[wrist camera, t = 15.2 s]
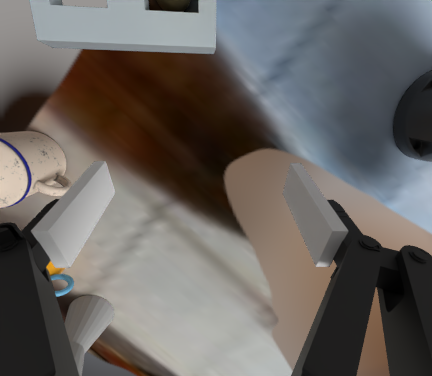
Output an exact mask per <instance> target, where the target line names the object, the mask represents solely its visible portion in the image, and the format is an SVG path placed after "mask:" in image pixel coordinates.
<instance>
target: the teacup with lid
mask: <svg viewBox="0 0 432 376" xmlns="http://www.w3.org/2000/svg"><path fill="white" fill-rule="evenodd" d="M65 171H66V158H65V155H64V153H63V151H62V149H61V148H60V146H59V145H58V144H57V143H56V142H55V141H54V140H52V139H51V138H50V137H48V136H46V135H44V134H42V133H39V132H34V131H21V132H9V133H0V208H4V207H9V206H13V205H15V204H17V203H19V202H20V201H22V200H23V199H24V198H25V197H27V196H30V195H32V194H34V193H36V192H38V191H39V192H41V193H44V194H47V195H52V196H63V195H64V194H65V193H66V192H67V191H68V190H69V189H70V187H71V182H70V181H69V180H68V179H67V178H66V177H64V176H63V175H64V173H65ZM57 182H58V183H60V184H61V185H62V186H63V187H53V186H51V185H53V184H55V183H57Z"/></svg>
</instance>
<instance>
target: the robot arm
mask: <svg viewBox="0 0 432 376" xmlns="http://www.w3.org/2000/svg"><path fill="white" fill-rule="evenodd" d="M393 130H394V137H395V141H396V143H397V145H398V147H399V149H400V150H401V151H402V152H403V153H404V154H405V155H407V156H409V157H411V158H413V159H418V160H423V161H430V162H432V70H431V71H429V72H427V73H426V74H424V75H423V76H421V77H420V78H419V79H417V80H416V81H415V82H414V83H413V84H412V85H411V86H410V88H409V89H408V90H407V91H406V93H405V94H404V96H403V97H402V99H401V101H400V103H399V105H398V108H397V110H396V114H395V118H394V125H393ZM114 194H115V190H114V187H113V184H112V181H111V177H110V174H109V171H108V168H107V164H106V161H94V162H93V163H92V165H91V166H90V167H89V168H88V169H87V170H86V171H85V172H84V173H83V174H82V175H81V177H80V178H79V179H78V180H77V181H76V182H75V183H74V184H73V185H72V186H71V187H70V189H69V190H68V191H67V192H66V193H65V194H64V195H63V196H62V197H61V198H60V199H55V200H54V201H52V202H50V203H49V204H47V205H46V206H45V207H44V208H43V209H42V210H41V212H39V213H38V214H37V215H36V218H34V219H33V220H32V221H31V222H30V223H29V224H28V225H27V226H26V227H25V228H24V229H23V230H22V231H20V230H19V228H18V227H17V225H16V224H15V223H11V222H10V223H2V224H0V376H79V373H78V369H77V366H76V362H75V359H74V356H73V352H72V349H71V345H70V342H69V338H68V335H67V332H66V328H65V325H64V321H63V318H62V315H61V311H60V308H59V304H58V301H57V297H56V294H55V291H54V287H53V284H52V280H51V277H50V274H49V271H48V269H47V268H46V267H47V265H48V264H49V262H50V261H51V262H52V264H53V265H54V267H55V268H70V267H71V266H72V264H73V262H74V261H75V259H76V257H77V256H78V254H79V252H80V251H81V249H82V247H83V246H84V244H85V242H86V241H87V239H88V237H89V236H90V234H91V232H92V231H93V229H94V227H95V226H96V224H97V222H98V221H99V219H100V217H101V216H102V214H103V212H104V211H105V209H106V207H107V206H108V204H109V202H110V201H111V199H112V197H113V196H114ZM283 195H284V197H285V199H286V202H287V204H288V206H289V208H290V211H291V213H292V215H293V217H294V220H295V222H296V224H297V226H298V228H299V230H300V233H301V235H302V237H303V239H304V242H305V244H306V246H307V248H308V250H309V253H310V255H311V257H312V259H313V261H314V264H315V266H316V267H329V266H330V265H331V263H332V261H333V260H334V261H335V263H336V265H337V267H336V269H335V270H334V272H333V274H332V276H331V280H330V283H329V285H328V288H327V290H326V293H325V295H324V297H323V300H322V302H321V305H320V307H319V309H318V312H317V314H316V317H315V319H314V322H313V324H312V326H311V329H310V331H309V334H308V336H307V339H306V341H305V343H304V346H303V348H302V351H301V353H300V356H299V358H298V360H297V363H296V365H295V368H294V370H293V372H292V375H291V376H356V375H357V370H358V365H359V361H360V356H361V352H362V347H363V343H364V338H365V333H366V329H367V324H368V320H369V315H370V311H371V306H372V301H373V297H374V292H375V288H376V287H377V290H378V296H379V303H380V310H381V317H382V324H383V331H384V338H385V345H386V352H387V359H388V366H389V373H390V376H432V256H431V255H430V254H429V253H427V252H426V251H424V250H422V249H420V248H418V247H415V246H410V245H408V246H404V247H402V248H401V250H400V251H396V250H392V249H387V248H383V247H382V246H381V244H380V243H379V242H377V241H376V240H375V239H373V238H371V237H369V236H366V235H363V234H362V233H361V231H360V230H359V229H358V227H357V226H356V225H355V224H354V222H353V221H352V220H351V218H349V216H348V214H347V213H345V210H344V209H343V208H342V207H341V205H340V204H338V203H337V202H335V201H334V200H326V198H325V197H324V195H323V194H322V193H321V191H320V190H319V188H318V187H317V185H316V184H315V183H314V181H313V180H312V178H311V177H310V175H309V174H308V173H307V171H306V170H305V168H304V167H303V165H302V164H301V163H290V167H289V171H288V175H287V179H286V183H285V187H284V191H283Z"/></svg>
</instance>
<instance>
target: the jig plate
mask: <svg viewBox="0 0 432 376" xmlns="http://www.w3.org/2000/svg"><path fill="white" fill-rule="evenodd" d="M29 1H30V6H31V11H32V16H33V21H34V26H35V31H36V36H37V40H38V41H40V42H42V43H44V44H46V45H48V46H50V47H52V48H73V49H98V50H124V51H149V52H175V53H200V54H214V52H215V49H216V0H198V13H188V12H170V11H152V10H149V1H148V0H107V6H108V8H97V7H79V6H78V7H77V6H63V5H62V0H29Z"/></svg>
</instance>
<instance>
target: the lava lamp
mask: <svg viewBox="0 0 432 376" xmlns="http://www.w3.org/2000/svg"><path fill="white" fill-rule="evenodd" d="M113 317H114V309H113V307H112V305H111V304H110V303H109V302H108V301H107V300H105V299H104V298H102V297H99V296H95V295H85V296H81V297H78V298H77V299H75V300H73V302H72V303H71V304H70V306H69V309H68V313H67V316H66V320H65V324H64V325H65V328H66V332H67V335H68V338H69V342H70V345H71V349H72V352H73V356H74V359H75V362H76V366H77V369H78V373H79V376H82V369H83V361H84V354H85V352H86V351H87V350H88V349H89V348H90V346H91V345H92V344H93V343H94V342H95V340H96V339H97V338H98V337H99V336H100V334H101V333H102V332H103V331H104V330H105V328H106V327H107V326H108V325H109V324H110V322H111V321H112V320H113Z"/></svg>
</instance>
